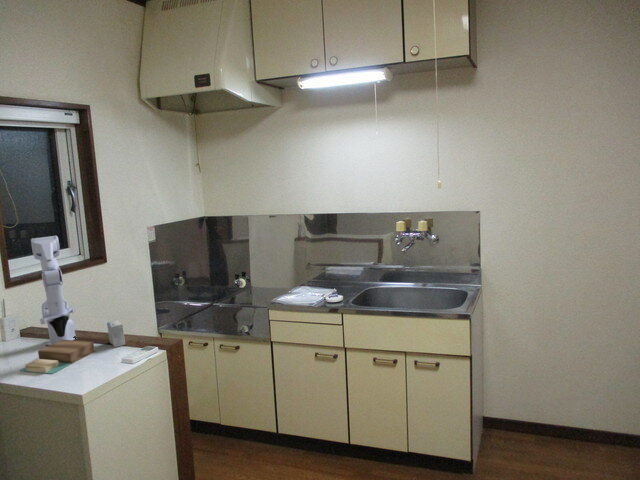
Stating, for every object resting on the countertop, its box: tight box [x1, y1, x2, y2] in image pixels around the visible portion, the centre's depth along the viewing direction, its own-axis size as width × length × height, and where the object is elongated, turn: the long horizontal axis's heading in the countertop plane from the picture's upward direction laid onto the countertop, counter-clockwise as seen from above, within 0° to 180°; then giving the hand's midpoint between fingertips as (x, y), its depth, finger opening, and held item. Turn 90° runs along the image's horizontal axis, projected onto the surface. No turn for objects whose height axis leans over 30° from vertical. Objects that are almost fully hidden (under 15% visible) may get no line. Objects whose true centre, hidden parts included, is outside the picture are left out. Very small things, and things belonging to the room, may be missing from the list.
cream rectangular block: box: [24, 358, 59, 374], centre depth 189 cm, size 6×9×2 cm, turn 72°
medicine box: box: [106, 319, 126, 348], centre depth 210 cm, size 8×4×9 cm, turn 34°
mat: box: [19, 362, 72, 375], centre depth 191 cm, size 9×15×1 cm, turn 72°
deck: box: [37, 339, 95, 365], centre depth 200 cm, size 12×15×4 cm
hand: (61, 336), depth 198 cm, fingers closed
